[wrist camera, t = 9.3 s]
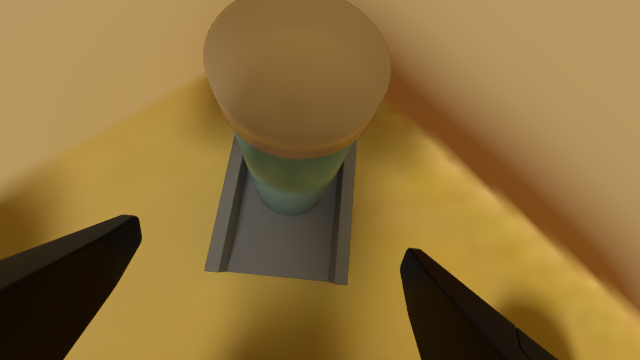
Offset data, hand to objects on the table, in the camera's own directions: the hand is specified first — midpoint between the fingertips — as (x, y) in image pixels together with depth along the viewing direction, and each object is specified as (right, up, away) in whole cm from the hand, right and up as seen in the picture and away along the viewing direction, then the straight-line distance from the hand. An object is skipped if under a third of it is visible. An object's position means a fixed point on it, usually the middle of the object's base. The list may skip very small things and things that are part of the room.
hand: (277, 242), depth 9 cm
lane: (-1, +2, +12) cm, 12 cm away
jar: (-1, +2, +12) cm, 12 cm away
